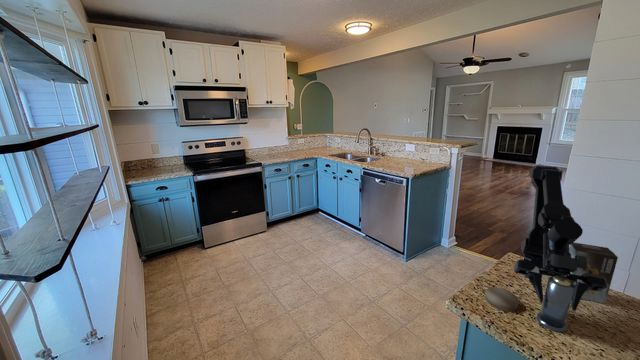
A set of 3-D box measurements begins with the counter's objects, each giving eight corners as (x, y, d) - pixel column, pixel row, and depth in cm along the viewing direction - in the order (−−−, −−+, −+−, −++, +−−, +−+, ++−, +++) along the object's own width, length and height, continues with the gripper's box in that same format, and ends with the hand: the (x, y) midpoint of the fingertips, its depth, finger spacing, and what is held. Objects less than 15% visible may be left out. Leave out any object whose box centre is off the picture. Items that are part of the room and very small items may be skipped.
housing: (546, 312, 78) (556, 270, 74) (572, 328, 72) (584, 284, 68) (531, 317, 76) (540, 275, 72) (556, 335, 70) (568, 289, 66)
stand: (498, 289, 88) (499, 284, 87) (524, 307, 80) (525, 301, 79) (478, 295, 85) (479, 290, 85) (503, 314, 78) (504, 308, 77)
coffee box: (596, 292, 86) (609, 247, 82) (605, 304, 80) (620, 257, 76) (559, 284, 90) (570, 241, 86) (566, 295, 84) (577, 250, 80)
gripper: (522, 234, 76) (521, 289, 69) (614, 249, 67) (622, 315, 60) (514, 246, 84) (512, 297, 78) (595, 261, 75) (600, 320, 69)
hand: (557, 306), depth 71 cm, fingers open, 6 cm apart
